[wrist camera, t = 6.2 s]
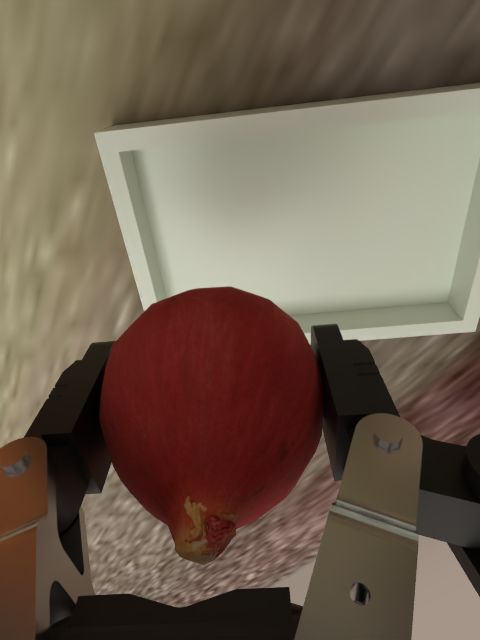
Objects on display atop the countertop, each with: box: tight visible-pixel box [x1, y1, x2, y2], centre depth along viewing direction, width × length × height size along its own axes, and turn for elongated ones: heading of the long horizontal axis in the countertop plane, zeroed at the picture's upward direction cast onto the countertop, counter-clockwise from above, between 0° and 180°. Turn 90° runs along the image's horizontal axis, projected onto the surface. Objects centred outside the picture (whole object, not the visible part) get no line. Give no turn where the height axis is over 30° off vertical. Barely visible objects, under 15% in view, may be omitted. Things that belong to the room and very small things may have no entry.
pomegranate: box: [99, 286, 324, 565], centre depth 10 cm, size 6×6×8 cm
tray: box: [94, 83, 480, 344], centre depth 19 cm, size 12×18×2 cm, turn 96°
